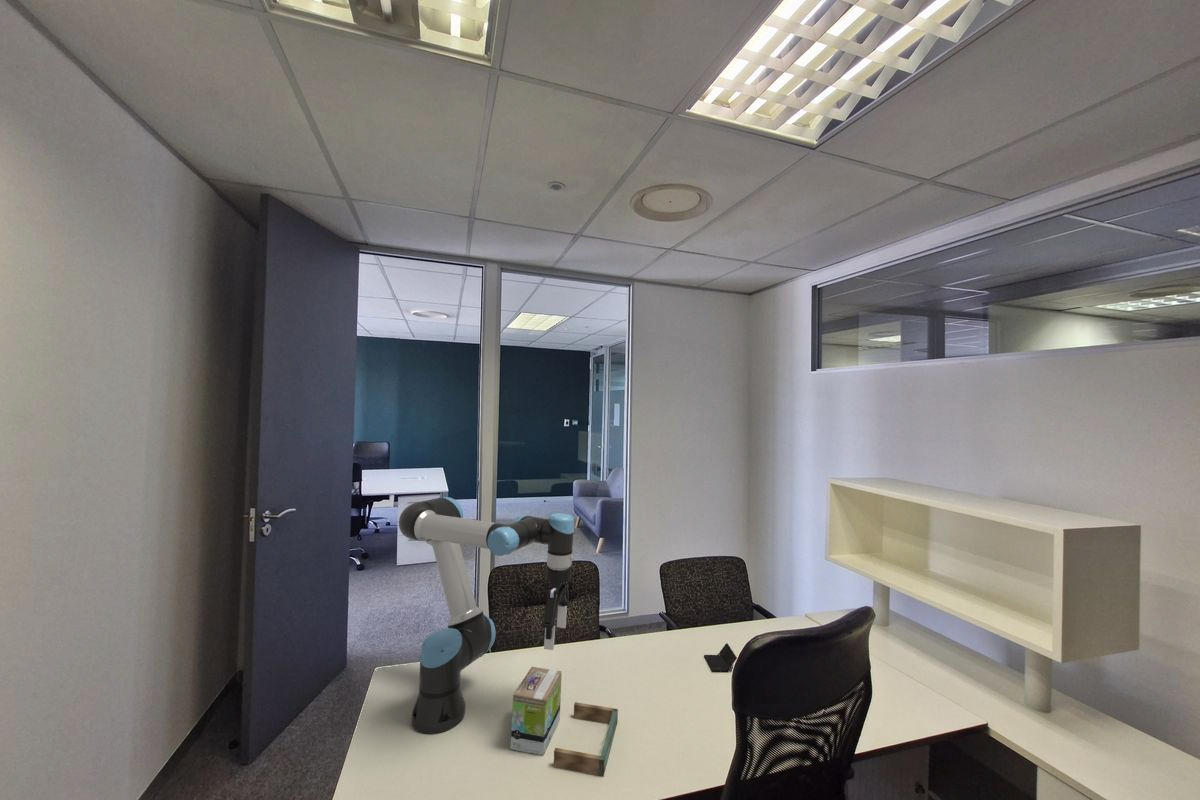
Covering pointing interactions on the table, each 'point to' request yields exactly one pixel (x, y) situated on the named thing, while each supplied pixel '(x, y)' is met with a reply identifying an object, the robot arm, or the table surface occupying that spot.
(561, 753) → the bay
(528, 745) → the tea box
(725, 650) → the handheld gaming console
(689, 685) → the table surface
